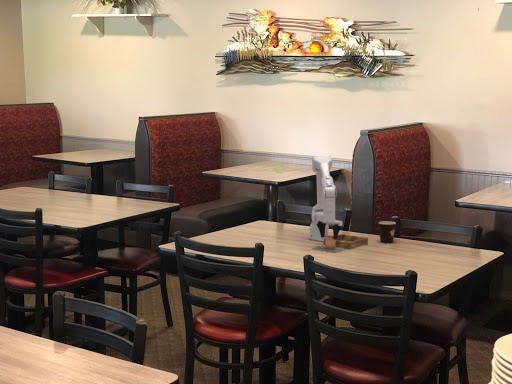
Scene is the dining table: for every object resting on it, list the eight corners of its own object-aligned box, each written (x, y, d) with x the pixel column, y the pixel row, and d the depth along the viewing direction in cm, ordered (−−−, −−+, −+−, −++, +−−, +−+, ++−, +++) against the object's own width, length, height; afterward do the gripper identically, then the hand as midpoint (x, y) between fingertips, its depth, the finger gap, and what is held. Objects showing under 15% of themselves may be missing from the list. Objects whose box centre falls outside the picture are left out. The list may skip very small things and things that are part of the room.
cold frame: (323, 244, 344) (323, 238, 344) (341, 239, 356) (341, 233, 356) (350, 249, 334) (350, 243, 333) (367, 243, 346) (367, 237, 345)
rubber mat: (312, 248, 336) (312, 248, 336) (322, 245, 342) (322, 245, 342) (335, 252, 326) (335, 252, 326) (346, 249, 333) (346, 249, 333)
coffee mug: (382, 244, 344) (383, 224, 343) (375, 240, 352) (375, 221, 351) (403, 242, 347) (404, 223, 346) (395, 239, 355) (396, 220, 354)
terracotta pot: (322, 248, 335) (322, 236, 334) (329, 246, 339) (329, 234, 338) (331, 250, 331) (331, 238, 330) (338, 248, 335) (338, 236, 334)
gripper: (312, 210, 334) (312, 237, 336) (336, 213, 324) (336, 241, 326) (321, 208, 339) (320, 235, 341) (345, 211, 329) (344, 239, 331)
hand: (329, 238), depth 334 cm, fingers open, 7 cm apart
